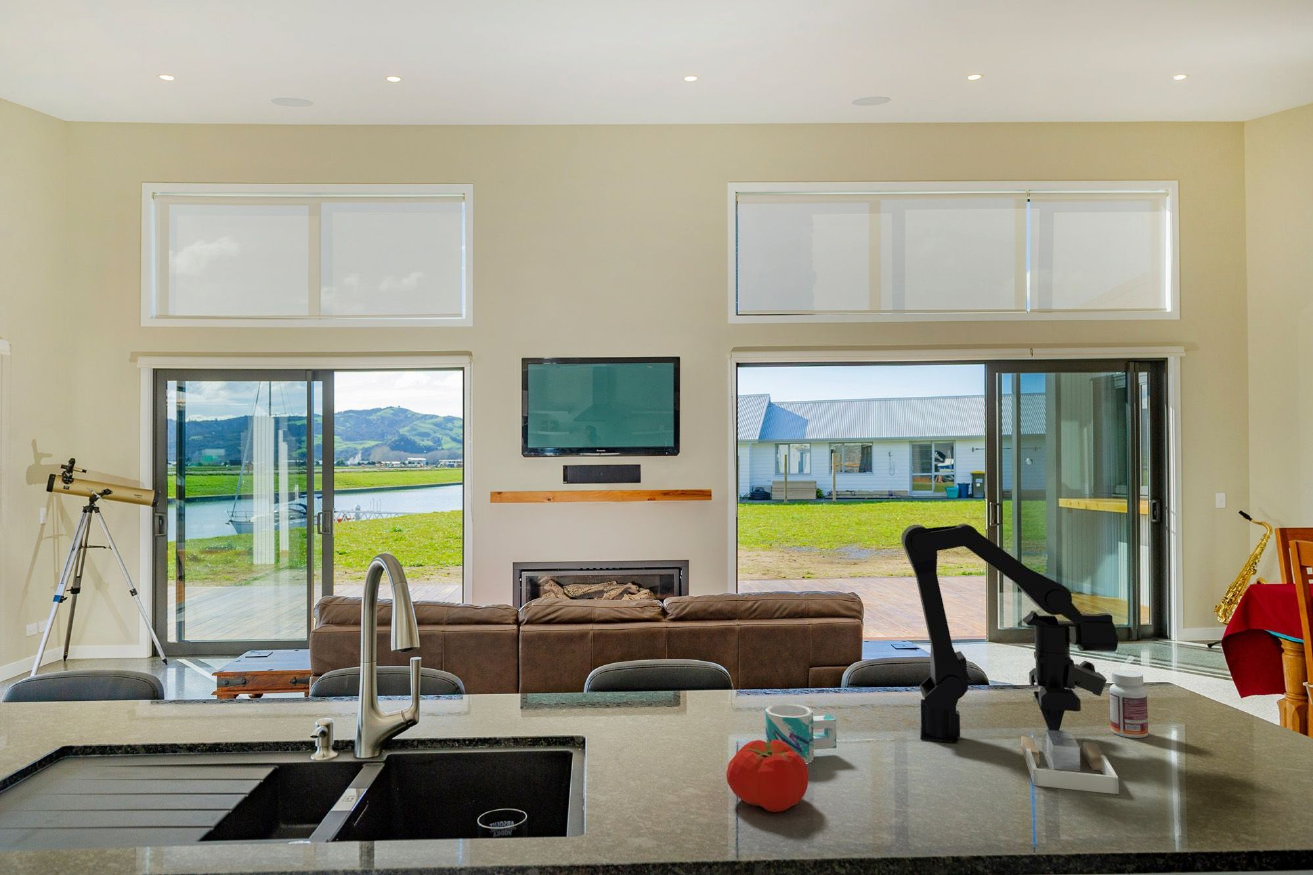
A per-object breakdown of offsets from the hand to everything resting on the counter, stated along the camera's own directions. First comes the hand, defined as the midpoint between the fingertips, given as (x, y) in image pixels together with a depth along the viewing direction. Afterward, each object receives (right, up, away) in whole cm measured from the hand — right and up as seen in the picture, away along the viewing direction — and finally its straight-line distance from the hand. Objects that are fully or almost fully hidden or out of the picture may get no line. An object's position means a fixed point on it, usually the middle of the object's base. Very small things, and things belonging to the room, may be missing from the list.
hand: (1054, 736), depth 150 cm
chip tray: (-5, -1, -17) cm, 18 cm away
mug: (-47, -2, -6) cm, 48 cm away
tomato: (-56, -1, -25) cm, 61 cm away
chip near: (-4, -1, -11) cm, 12 cm away
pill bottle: (+16, -1, +5) cm, 17 cm away
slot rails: (-3, -1, -8) cm, 9 cm away
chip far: (-2, -1, -7) cm, 8 cm away
